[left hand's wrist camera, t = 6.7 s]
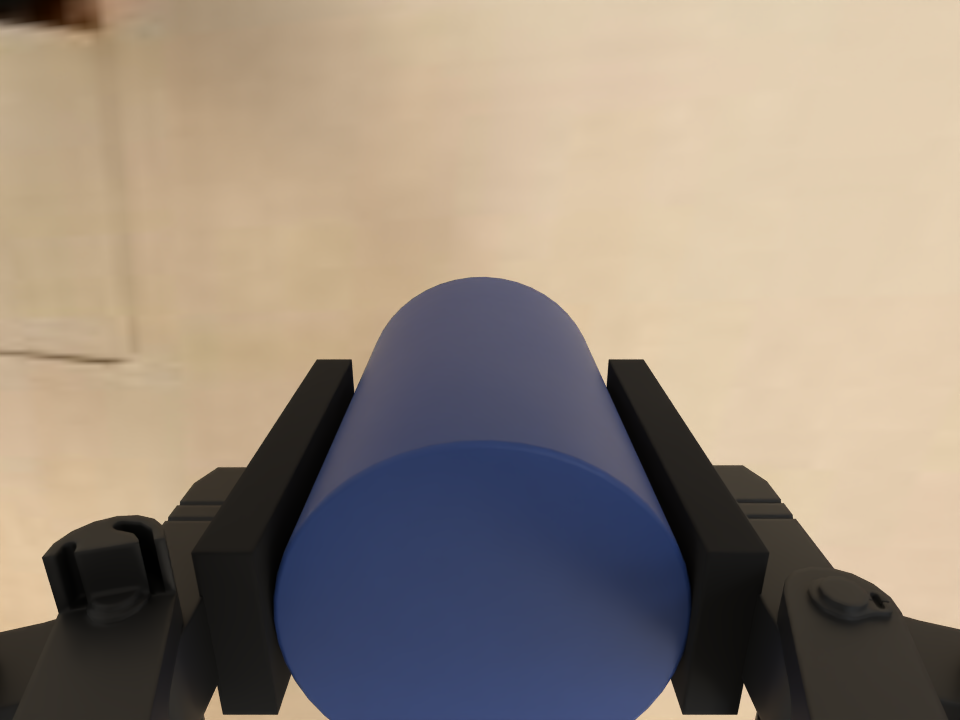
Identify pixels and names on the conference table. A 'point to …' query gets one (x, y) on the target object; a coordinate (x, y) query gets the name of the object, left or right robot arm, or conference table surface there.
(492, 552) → the can
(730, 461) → the conference table surface
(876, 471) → the conference table surface
